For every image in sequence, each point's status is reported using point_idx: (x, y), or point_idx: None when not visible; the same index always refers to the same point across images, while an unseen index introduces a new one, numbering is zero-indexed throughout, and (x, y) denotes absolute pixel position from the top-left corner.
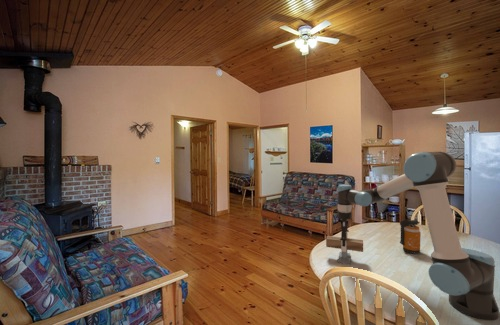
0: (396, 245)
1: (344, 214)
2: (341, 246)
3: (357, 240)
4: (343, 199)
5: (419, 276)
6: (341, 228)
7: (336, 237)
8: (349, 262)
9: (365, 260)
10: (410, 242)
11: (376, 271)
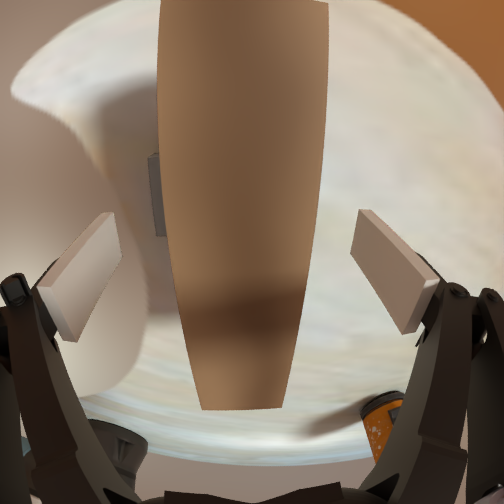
0: None
1: None
2: (79, 239)
3: (256, 385)
4: None
5: (195, 417)
6: (57, 459)
7: (290, 161)
8: (157, 232)
9: None
10: (375, 437)
11: (152, 339)
